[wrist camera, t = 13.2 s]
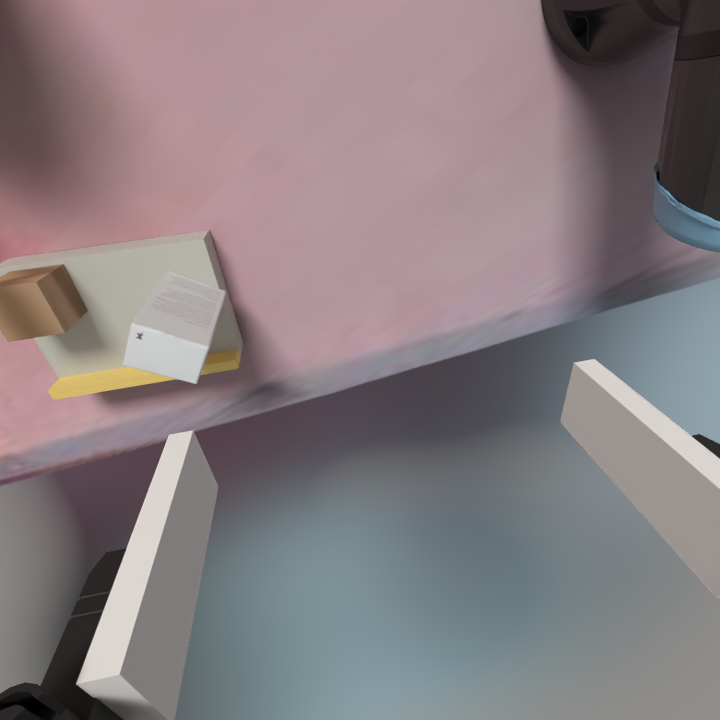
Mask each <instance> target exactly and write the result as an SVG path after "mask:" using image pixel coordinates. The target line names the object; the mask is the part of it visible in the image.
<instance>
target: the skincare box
mask: <svg viewBox="0 0 720 720" xmlns="http://www.w3.org/2000/svg"><path fill="white" fill-rule="evenodd" d="M225 297H226V291H224V290H221V289H218V288H215V287H212V286H210V285H207V284H204V283H201V282H198V281H196V280H193V279H190V278H187V277H184V276H182V275H179V274H176V273H173V272H171V271H168V272H167V274H166V275H165V277H164V278H163V279H162V281H161V282H160V284H159V285H158V287H157V288H156V289H155V290H154V292H153V293H152V295H151V296H150V298H149V299H148V300H147V302H146V303H145V305H144V306H143V307H142V309H141V310H140V312H139V313H138V315H137V316H136V317H135V319H134V320H133V321H132V322H131V325H130V330H129V335H128V340H127V345H126V350H125V355H124V360H123V365H124V366H127V367H131V368H135V369H139V370H143V371H147V372H151V373H155V374H159V375H162V376H166V377H170V378H174V379H178V380H182V381H186V382H190V383H193V384H197V383H198V380H199V378H200V375H201V372H202V369H203V367H204V364H205V361H206V359H207V356H208V353H209V350H210V346H211V343H212V339H213V336H214V332H215V329H216V326H217V322H218V319H219V316H220V313H221V310H222V306H223V303H224V300H225Z"/></svg>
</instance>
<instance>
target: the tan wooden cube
mask: <svg viewBox="0 0 720 720" xmlns="http://www.w3.org/2000/svg"><path fill="white" fill-rule="evenodd" d="M87 311H88V310H87V308H86V306H85V304H84V302H83V300H82V298H81V296H80V294H79V292H78V290H77V289H76V287H75V285H74V283H73V281H72V279H71V277H70V275H69V273H68V271H67V269H66V268H65V266H64V264H60V265H53V266H46V267H39V268H32V269H25V270H18V271H11V272H8V273H6V274H4V275H3V276H1V277H0V330H1V331H2V333H3V334H4V336H5V337H6V339H7V340H8V342H11V341H17V340H24V339H30V338H37V337H43V336H49V335H56V334H62V333H66V332H67V331H68V330H69V329H70V328H71V327H72V326H73V325H74V324H75V323H76V322H77V321H78V320H79V319H80V318H81V317H82V316H83V315H84V314H85V313H86V312H87Z"/></svg>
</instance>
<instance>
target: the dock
mask: <svg viewBox="0 0 720 720" xmlns="http://www.w3.org/2000/svg"><path fill="white" fill-rule="evenodd" d="M60 264H64V266H65V268H66V269H67V271H68V273H69V275H70V277H71V279H72V281H73V283H74V285H75V287H76V289H77V290H78V292H79V294H80V296H81V298H82V300H83V302H84V304H85V306H86V308H87V310H88V311H87V312H86V313H85V314H84V315H83V316H82V317H81V318H80V319H79V320H78V321H77V322H76V323H75V324H74V325H73V326H72V327H71V328H70V329H69V330H68V331H67V332H66V333H62V334H56V335H49V336H43V337H37V338H33V339H34V340H35V342H36V343H37V345H38V347H39V348H40V350H41V351H42V353H43V354H44V356H45V358H46V359H47V361H48V362H49V364H50V366H51V367H52V369H53V370H54V372H55V373H56V375H57V377H58V378H59V379H58V380H57V381H56V382H55V383H54V385H53V386H52V387H51V388H50V389H49V390H48V392H49V394H50V395H51V397H52V398H53V400H56V399H62V398H68V397H74V396H80V395H86V394H91V393H97V392H103V391H109V390H115V389H121V388H127V387H133V386H139V385H145V384H151V383H157V382H163V381H169V380H175V379H174V378H170V377H166V376H162V375H159V374H155V373H151V372H147V371H143V370H139V369H135V368H131V367H127V366H124V365H123V360H124V355H125V350H126V345H127V340H128V335H129V330H130V325H131V322H132V321H133V320H134V319H135V317H136V316H137V315H138V313H139V312H140V310H141V309H142V307H143V306H144V305H145V303H146V302H147V300H148V299H149V298H150V296H151V295H152V293H153V292H154V290H155V289H156V288H157V287H158V285H159V284H160V282H161V281H162V279H163V278H164V277H165V275H166V274H167V272H168V271H171V272H173V273H176V274H179V275H182V276H184V277H187V278H190V279H193V280H196V281H198V282H201V283H204V284H207V285H210V286H212V287H215V288H218V289H221V290H224V291H226V297H225V300H224V303H223V306H222V310H221V313H220V316H219V319H218V322H217V326H216V329H215V332H214V336H213V339H212V343H211V346H210V350H209V353H208V356H207V359H206V361H205V364H204V367H203V369H202V372H201V375H204V374H210V373H216V372H222V371H228V370H234V369H239V364H240V359H241V354H242V348H243V340H242V337H241V333H240V330H239V327H238V324H237V320H236V317H235V314H234V310H233V307H232V304H231V300H230V297H229V294H228V290H227V287H226V284H225V280H224V277H223V274H222V271H221V267H220V264H219V261H218V257H217V254H216V251H215V247H214V244H213V241H212V237H211V234H210V231H209V230H207V231H199V232H192V233H185V234H178V235H171V236H164V237H157V238H149V239H142V240H135V241H128V242H121V243H114V244H107V245H99V246H92V247H85V248H78V249H71V250H64V251H57V252H49V253H42V254H35V255H28V256H21V257H14V258H10V259H8V260H6V261H4V262H2V263H0V277H1V276H3V275H4V274H6V273H8V272H11V271H18V270H25V269H32V268H39V267H46V266H53V265H60Z"/></svg>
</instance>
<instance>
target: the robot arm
mask: <svg viewBox="0 0 720 720" xmlns="http://www.w3.org/2000/svg"><path fill="white" fill-rule="evenodd" d="M542 4H543V10H544V15H545V19H546V22H547V25H548V28H549V30H550V33H551V35H552V37H553V39H554V40H555V42H556V43H557V45H558V46H559V47H560V49H561V50H562V51H563V52H564V53H565V54H567V55H568V56H569V57H571V58H572V59H574V60H576V61H578V62H580V63H583V64H587V65H605V64H611V63H617V62H622V61H626V60H629V59H632V58H634V57H637V56H639V55H641V54H643V53H645V52H647V51H648V50H650V49H652V48H653V47H655V46H656V45H658V44H659V43H661V42H662V41H664V40H665V39H667V38H668V37H670V36H671V35H673V34H674V33H676V32H677V31H678V37H677V44H676V51H675V57H674V61H673V67H672V74H671V80H670V86H669V92H668V99H667V105H666V111H665V117H664V124H663V130H662V136H661V142H660V148H659V155H658V161H657V164H656V165H655V167H654V172H653V180H654V183H655V190H654V200H653V215H654V218H655V220H656V221H657V222H658V223H659V225H660V227H661V228H662V230H663V231H665V232H666V233H667V234H669V235H670V236H672V237H673V238H675V239H677V240H679V241H681V242H683V243H686V244H688V245H691V246H695V247H698V248H702V249H705V250H709V251H714V252H719V253H720V0H542ZM560 422H561V423H562V424H563V425H564V427H565V428H566V429H567V430H568V431H569V432H570V433H571V435H572V436H573V437H574V438H575V439H576V440H577V441H578V442H579V444H580V445H581V446H582V447H583V448H584V449H585V450H586V451H587V453H588V454H589V455H590V456H591V457H592V458H593V459H594V460H595V462H596V463H597V464H598V465H599V466H600V467H601V468H602V470H603V471H604V472H605V473H606V474H607V475H608V476H609V477H610V478H611V480H612V481H613V482H614V483H615V484H616V485H617V486H618V487H619V489H620V490H621V491H622V492H623V493H624V494H625V495H626V497H627V498H628V499H629V500H630V501H631V502H632V503H633V505H634V506H635V507H636V508H637V509H638V510H639V511H640V512H641V514H642V515H643V516H644V517H645V518H646V519H647V520H648V521H649V523H650V524H651V525H652V526H653V527H654V528H655V529H656V530H657V531H658V533H659V534H660V535H661V536H662V537H663V538H664V539H665V541H666V542H667V543H668V544H669V545H670V546H671V547H672V548H673V549H674V551H675V552H676V553H677V554H678V555H679V556H680V558H681V559H682V560H683V561H684V562H685V563H686V564H687V565H688V566H689V568H690V569H691V570H692V571H693V572H694V573H695V574H696V575H697V577H698V578H699V579H700V580H701V581H702V582H703V583H704V585H705V586H706V587H707V588H708V589H709V590H710V591H711V593H712V594H713V595H714V596H715V597H716V598H720V444H718V443H716V442H714V441H712V440H710V439H708V438H706V437H704V436H702V435H700V434H698V435H693V436H690V435H689V434H688V433H687V432H685V431H684V430H683V429H682V428H680V427H679V426H678V425H677V424H675V423H674V422H673V421H672V420H670V419H669V418H668V417H667V416H665V415H664V414H663V413H662V412H660V411H659V410H658V409H656V408H655V407H654V406H653V405H652V404H650V403H649V402H648V401H647V400H645V399H644V398H642V396H640V395H639V394H638V393H636V392H635V391H634V390H633V389H631V388H630V387H629V386H628V385H626V384H625V383H624V382H623V381H621V380H620V379H619V378H618V377H616V376H615V375H614V374H613V373H611V372H610V371H609V370H608V369H606V368H605V367H604V366H603V365H601V364H600V363H599V362H597V361H596V360H595V359H592V360H586V361H581V362H576V363H574V365H573V369H572V373H571V378H570V382H569V386H568V391H567V395H566V399H565V404H564V408H563V413H562V417H561V421H560ZM217 491H218V485H217V483H216V481H215V478H214V476H213V474H212V472H211V470H210V467H209V465H208V463H207V461H206V458H205V456H204V454H203V452H202V449H201V447H200V445H199V443H198V440H197V438H196V436H195V434H194V431H188V432H182V433H177V434H171V435H169V436H168V439H167V442H166V444H165V447H164V450H163V453H162V456H161V458H160V461H159V464H158V466H157V469H156V471H155V474H154V477H153V479H152V482H151V485H150V487H149V490H148V493H147V495H146V498H145V501H144V504H143V506H142V509H141V512H140V514H139V517H138V520H137V522H136V525H135V528H134V530H133V533H132V536H131V538H130V541H129V544H128V546H127V549H122V550H117V551H111V552H106V553H105V554H104V556H103V557H102V558H101V560H100V561H99V562H98V563H97V565H96V566H95V567H94V568H93V570H92V571H91V572H90V573H89V576H88V578H87V580H86V582H85V585H84V587H83V589H82V592H81V594H80V600H79V601H77V603H76V606H75V608H74V610H73V612H72V615H71V616H72V618H71V620H69V622H68V624H67V626H66V629H65V631H64V633H63V635H62V638H61V640H60V642H59V645H58V647H57V649H56V652H55V654H54V656H53V658H52V661H51V663H50V666H49V668H48V670H47V672H46V675H45V677H44V679H43V682H42V684H41V686H39V685H37V684H31V683H23V684H19V685H16V686H13V687H10V688H9V689H7V690H5V691H4V692H2V693H1V694H0V720H174V719H175V713H176V708H177V703H178V697H179V692H180V687H181V681H182V676H183V671H184V665H185V660H186V655H187V650H188V644H189V639H190V634H191V628H192V623H193V618H194V613H195V607H196V602H197V597H198V591H199V586H200V581H201V575H202V570H203V565H204V559H205V554H206V548H207V544H208V538H209V533H210V528H211V522H212V517H213V512H214V507H215V501H216V496H217Z"/></svg>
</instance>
